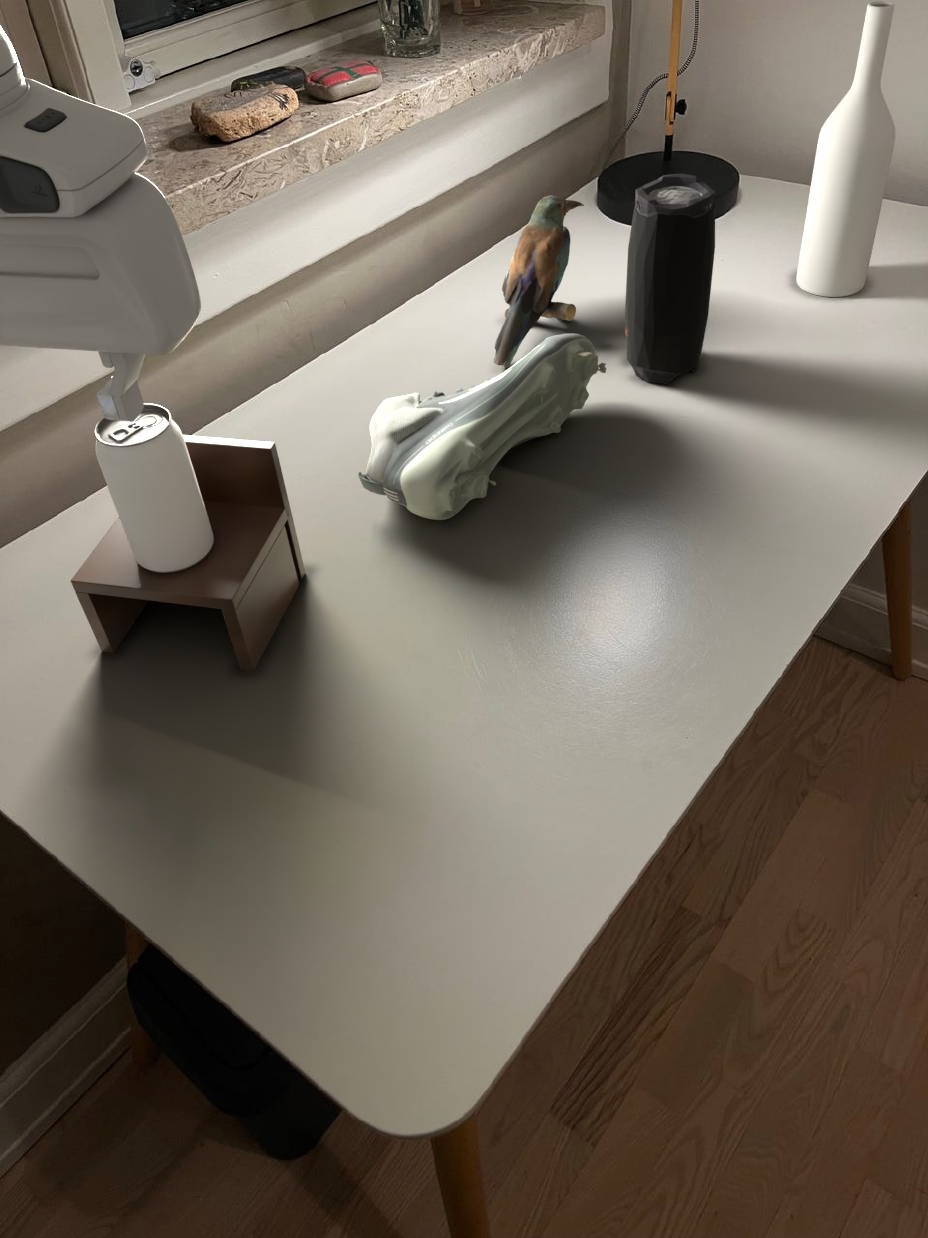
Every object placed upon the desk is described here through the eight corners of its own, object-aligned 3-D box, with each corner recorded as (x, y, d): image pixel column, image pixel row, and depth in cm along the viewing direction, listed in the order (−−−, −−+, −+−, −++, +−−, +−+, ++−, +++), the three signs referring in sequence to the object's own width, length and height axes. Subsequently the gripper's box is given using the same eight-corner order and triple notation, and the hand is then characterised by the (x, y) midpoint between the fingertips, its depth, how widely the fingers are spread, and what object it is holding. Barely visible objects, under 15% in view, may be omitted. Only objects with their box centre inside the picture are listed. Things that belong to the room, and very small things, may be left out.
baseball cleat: (619, 316, 103) (494, 281, 110) (443, 456, 87) (310, 405, 94) (615, 403, 110) (497, 366, 117) (451, 549, 94) (326, 494, 101)
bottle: (873, 274, 126) (932, -5, 106) (853, 302, 121) (912, 16, 101) (807, 262, 130) (852, -10, 109) (786, 290, 125) (829, 11, 104)
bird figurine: (545, 374, 113) (576, 180, 108) (464, 361, 117) (491, 173, 112) (582, 379, 125) (612, 204, 120) (508, 367, 129) (534, 197, 124)
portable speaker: (616, 384, 112) (622, 204, 99) (633, 342, 118) (640, 168, 105) (696, 391, 110) (713, 209, 96) (708, 348, 116) (726, 171, 103)
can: (231, 545, 84) (194, 418, 75) (165, 587, 80) (119, 459, 72) (184, 515, 87) (144, 390, 79) (120, 553, 84) (71, 428, 76)
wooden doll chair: (101, 651, 87) (43, 521, 78) (165, 556, 96) (120, 429, 86) (253, 671, 84) (213, 539, 75) (305, 572, 93) (275, 441, 83)
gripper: (-296, 169, 47) (-149, 427, 56) (107, 177, 42) (192, 456, 52) (-201, 120, 51) (-80, 368, 61) (173, 123, 47) (240, 390, 56)
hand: (48, 409), depth 56 cm, fingers open, 8 cm apart
